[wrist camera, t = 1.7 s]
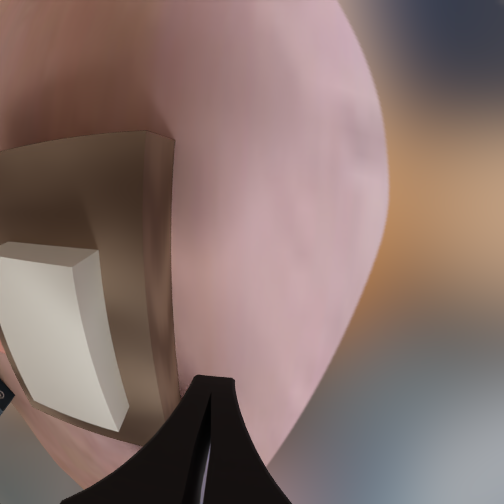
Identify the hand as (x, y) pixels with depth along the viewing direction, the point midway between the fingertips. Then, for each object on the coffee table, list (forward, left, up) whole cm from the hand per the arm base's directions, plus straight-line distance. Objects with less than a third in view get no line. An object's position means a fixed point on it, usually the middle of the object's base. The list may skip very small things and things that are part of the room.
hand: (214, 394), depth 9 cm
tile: (0, +8, -2) cm, 8 cm away
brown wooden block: (0, +9, -6) cm, 11 cm away
